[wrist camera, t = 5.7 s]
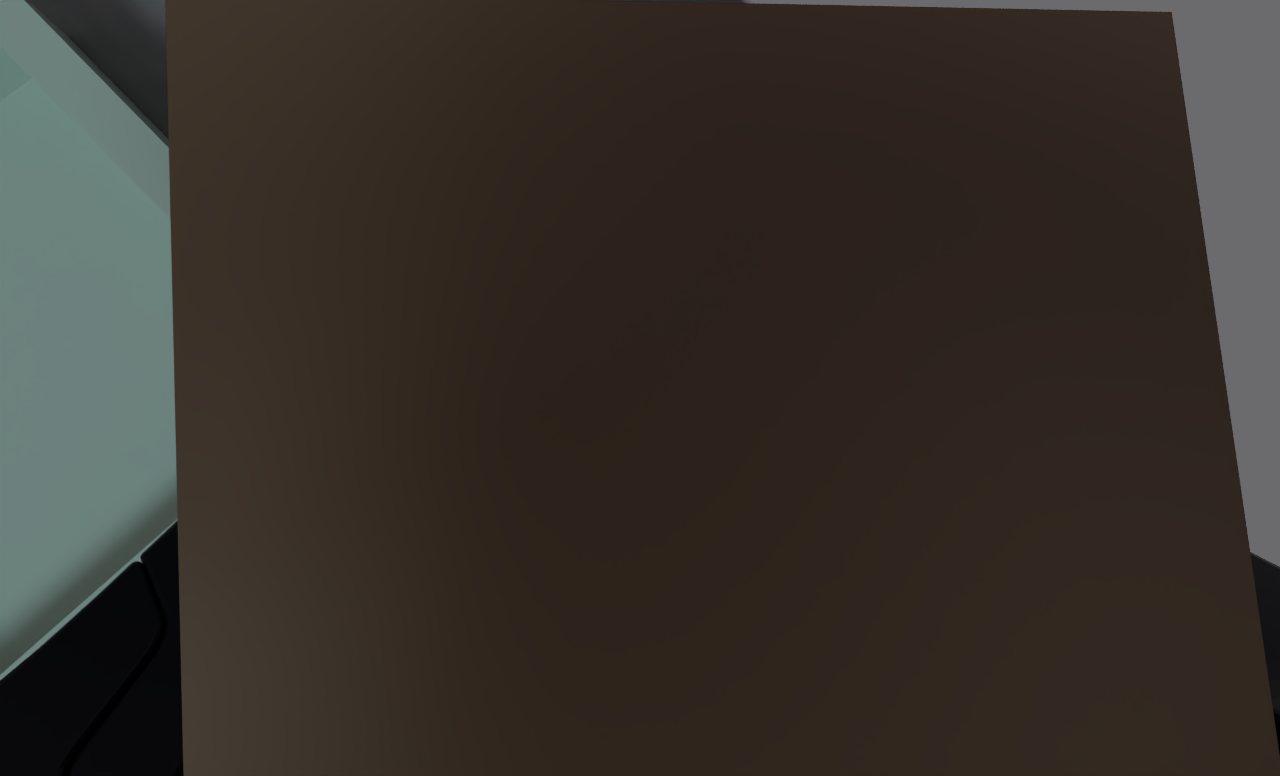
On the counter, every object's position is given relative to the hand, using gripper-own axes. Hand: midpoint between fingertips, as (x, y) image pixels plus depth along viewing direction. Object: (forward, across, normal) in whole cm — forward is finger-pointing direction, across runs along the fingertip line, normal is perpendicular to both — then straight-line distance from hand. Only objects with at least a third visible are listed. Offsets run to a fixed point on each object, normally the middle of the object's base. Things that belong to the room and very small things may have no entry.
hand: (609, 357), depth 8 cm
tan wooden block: (+4, 0, +6) cm, 7 cm away
